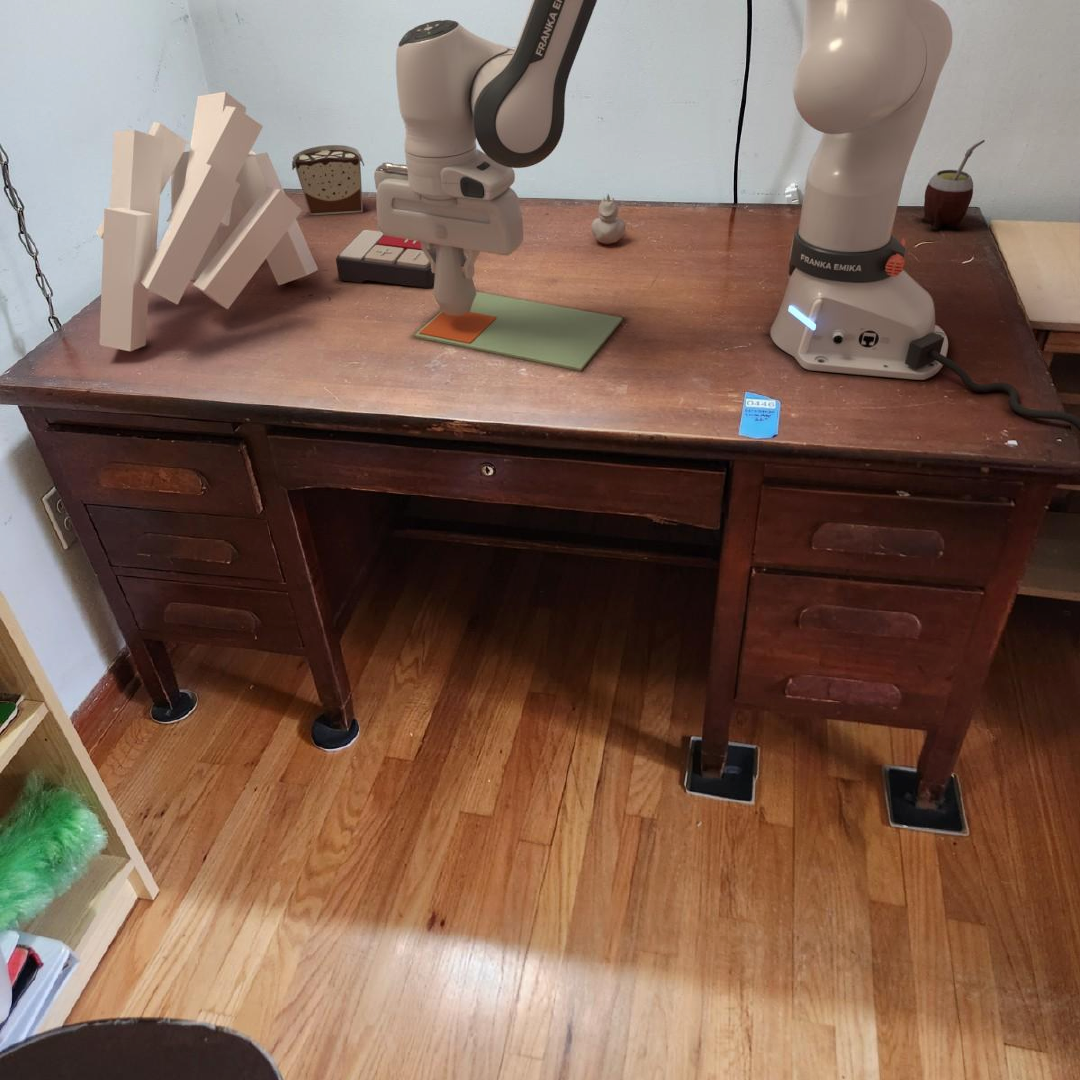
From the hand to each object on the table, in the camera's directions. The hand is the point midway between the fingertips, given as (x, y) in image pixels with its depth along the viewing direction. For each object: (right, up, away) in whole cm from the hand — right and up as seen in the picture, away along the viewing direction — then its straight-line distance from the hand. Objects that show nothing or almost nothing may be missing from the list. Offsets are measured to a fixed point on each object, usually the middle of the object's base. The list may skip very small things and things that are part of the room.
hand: (453, 274), depth 123 cm
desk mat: (+9, -6, +4) cm, 12 cm away
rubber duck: (+23, +13, +26) cm, 37 cm away
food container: (-25, +24, +42) cm, 54 cm away
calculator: (-11, +7, +21) cm, 24 cm away
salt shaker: (0, -4, +4) cm, 5 cm away
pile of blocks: (-37, 0, +14) cm, 39 cm away
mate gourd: (+77, +15, +26) cm, 83 cm away
